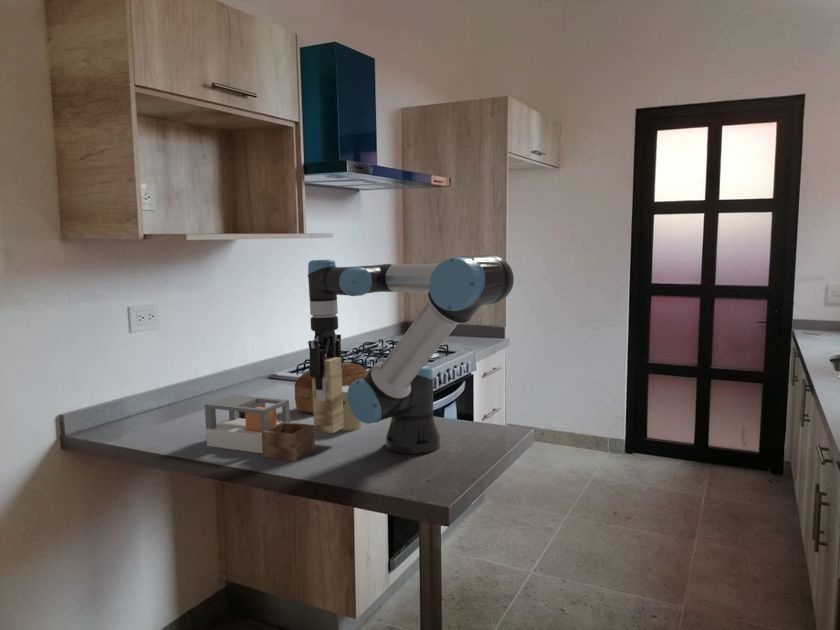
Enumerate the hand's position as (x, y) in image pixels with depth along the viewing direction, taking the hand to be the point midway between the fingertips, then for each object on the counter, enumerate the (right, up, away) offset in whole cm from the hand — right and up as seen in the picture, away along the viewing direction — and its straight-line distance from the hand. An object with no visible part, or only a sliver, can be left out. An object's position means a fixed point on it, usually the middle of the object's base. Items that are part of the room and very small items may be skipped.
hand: (327, 397), depth 185 cm
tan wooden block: (0, -9, +1) cm, 9 cm away
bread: (-4, -9, +45) cm, 46 cm away
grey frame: (-23, -14, +4) cm, 27 cm away
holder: (-10, -14, -5) cm, 18 cm away
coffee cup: (+4, -11, +19) cm, 22 cm away
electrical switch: (-26, -12, +20) cm, 35 cm away
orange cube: (-19, -10, +2) cm, 21 cm away
